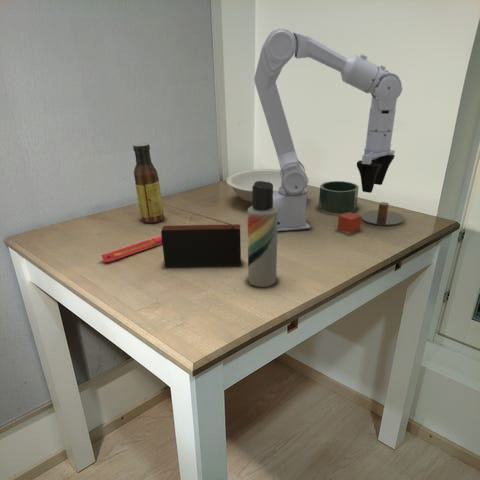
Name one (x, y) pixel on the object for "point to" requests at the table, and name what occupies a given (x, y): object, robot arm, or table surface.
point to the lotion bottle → (262, 236)
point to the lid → (382, 216)
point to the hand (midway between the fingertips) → (372, 187)
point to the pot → (338, 197)
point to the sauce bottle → (147, 185)
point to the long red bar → (132, 249)
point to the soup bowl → (253, 181)
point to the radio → (201, 244)
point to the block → (349, 222)
